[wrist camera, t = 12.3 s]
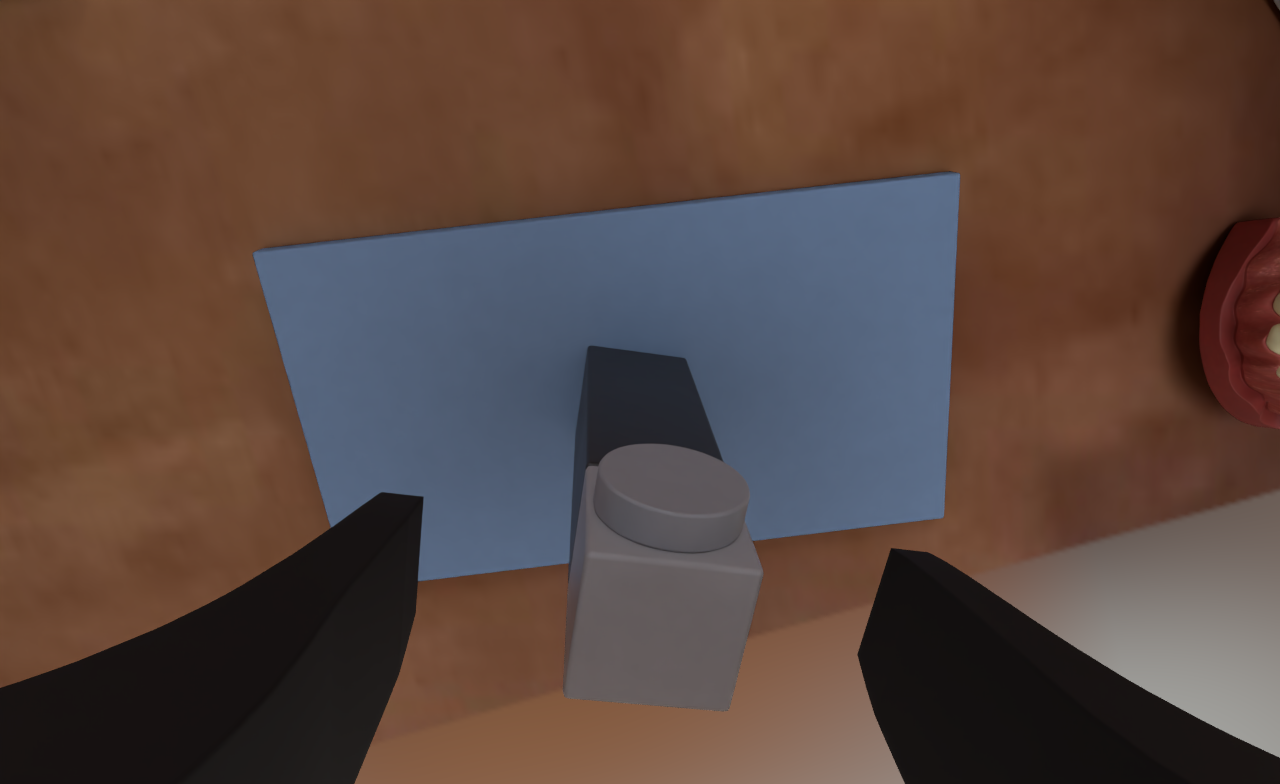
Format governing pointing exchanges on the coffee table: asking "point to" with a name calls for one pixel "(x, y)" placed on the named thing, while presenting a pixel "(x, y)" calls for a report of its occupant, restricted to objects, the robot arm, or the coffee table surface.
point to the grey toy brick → (654, 542)
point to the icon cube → (1277, 3)
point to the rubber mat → (636, 321)
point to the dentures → (1245, 324)
